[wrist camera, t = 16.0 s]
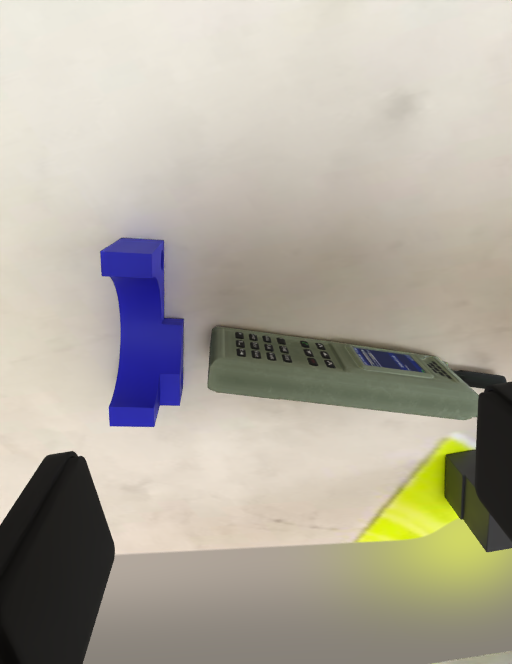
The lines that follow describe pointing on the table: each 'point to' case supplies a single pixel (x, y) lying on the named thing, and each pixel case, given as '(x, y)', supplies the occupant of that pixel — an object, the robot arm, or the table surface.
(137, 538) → the table surface
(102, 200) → the table surface
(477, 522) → the tape dispenser
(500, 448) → the robot arm
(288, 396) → the handheld radio
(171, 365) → the blue semicircular clamp bracket
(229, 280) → the table surface
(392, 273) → the table surface
